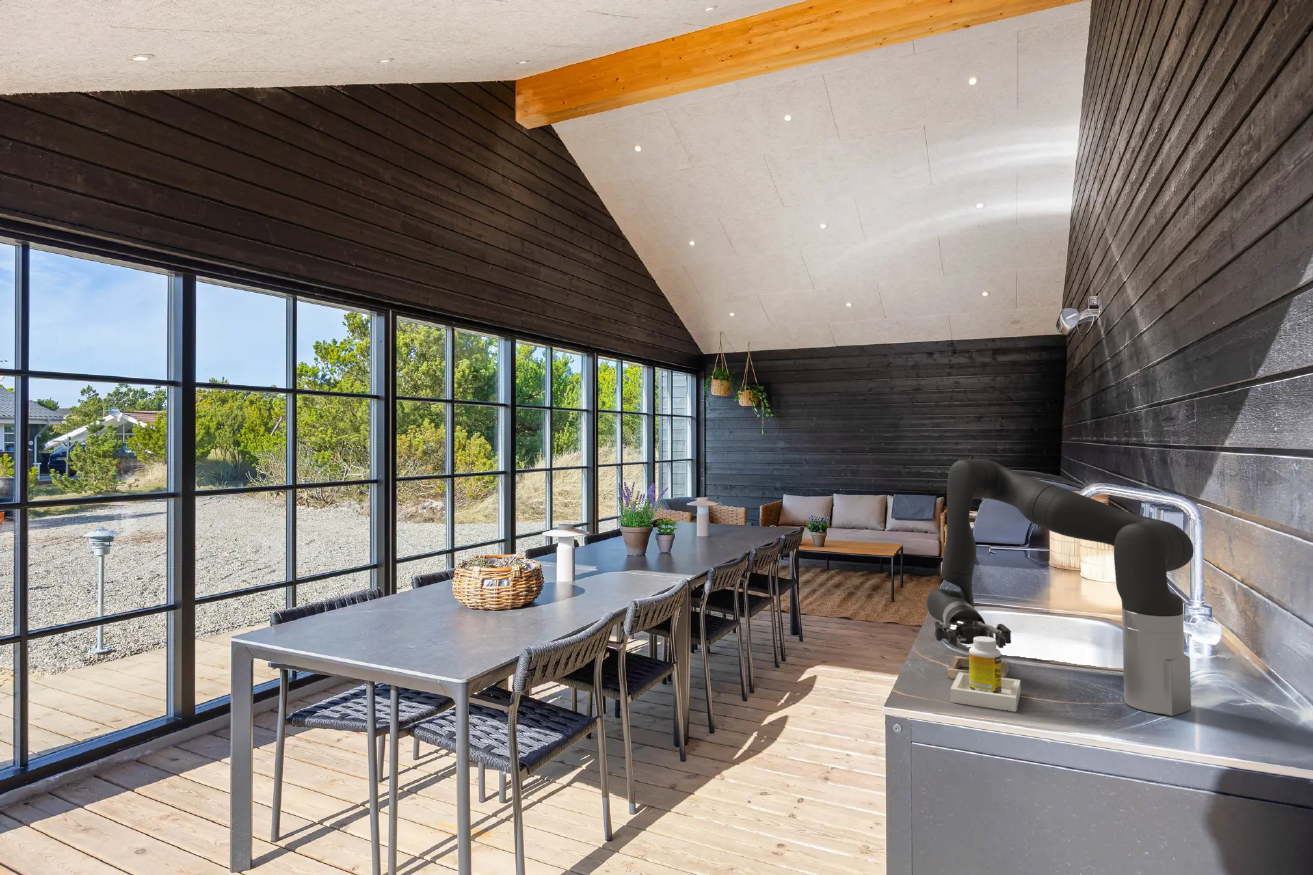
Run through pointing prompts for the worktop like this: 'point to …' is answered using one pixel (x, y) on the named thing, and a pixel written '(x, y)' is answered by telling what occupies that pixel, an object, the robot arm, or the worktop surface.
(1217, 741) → the worktop surface
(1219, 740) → the worktop surface
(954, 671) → the square wooden frame
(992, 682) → the supplement bottle
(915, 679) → the worktop surface
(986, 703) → the parts tray
